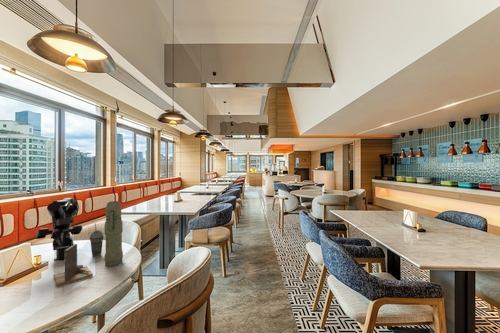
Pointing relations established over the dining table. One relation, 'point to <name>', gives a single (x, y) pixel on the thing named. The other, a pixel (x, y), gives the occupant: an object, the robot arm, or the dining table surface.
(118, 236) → the moai statue
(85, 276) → the dial plate
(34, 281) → the dining table surface
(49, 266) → the dining table surface
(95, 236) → the beverage cup
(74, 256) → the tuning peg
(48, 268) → the dining table surface
